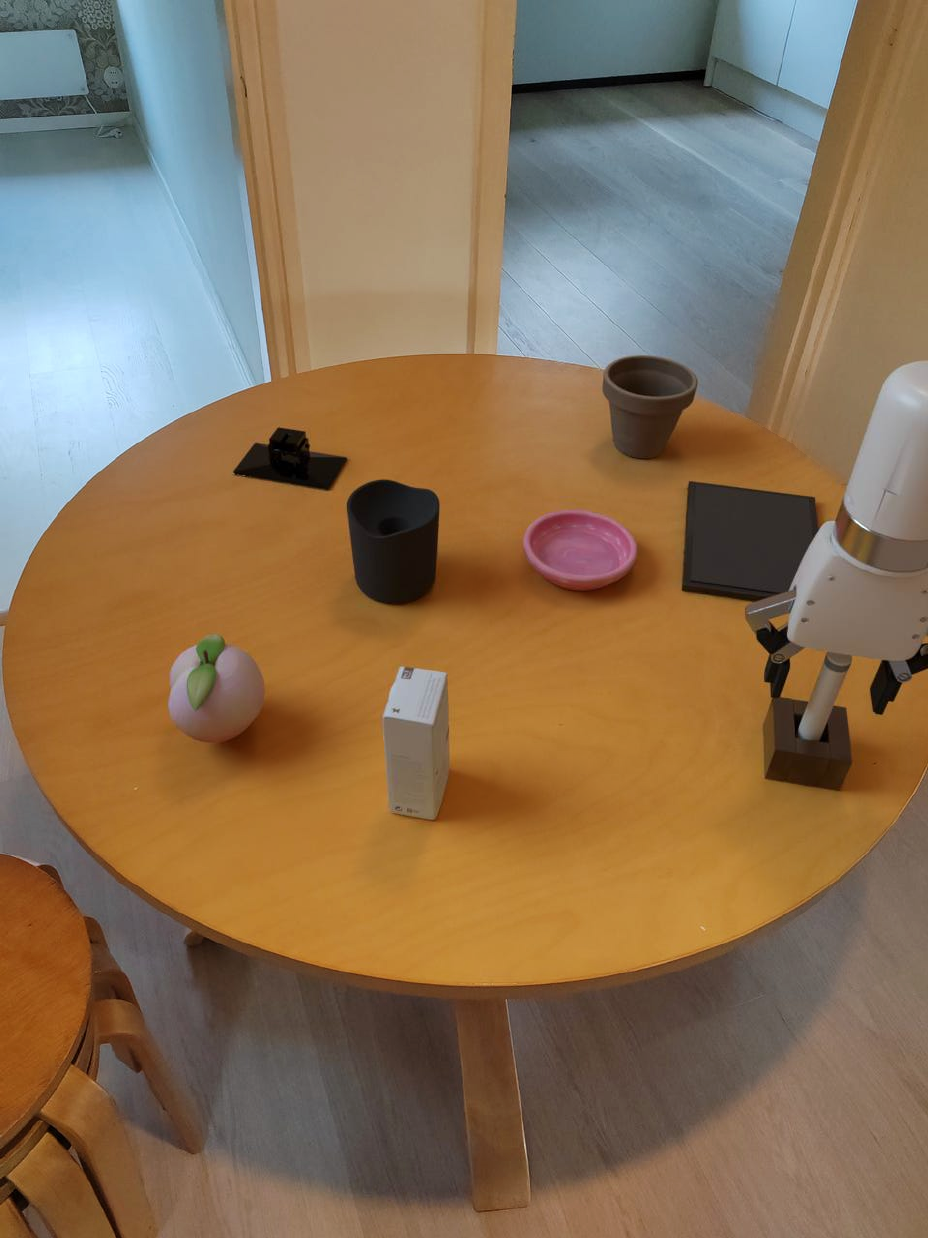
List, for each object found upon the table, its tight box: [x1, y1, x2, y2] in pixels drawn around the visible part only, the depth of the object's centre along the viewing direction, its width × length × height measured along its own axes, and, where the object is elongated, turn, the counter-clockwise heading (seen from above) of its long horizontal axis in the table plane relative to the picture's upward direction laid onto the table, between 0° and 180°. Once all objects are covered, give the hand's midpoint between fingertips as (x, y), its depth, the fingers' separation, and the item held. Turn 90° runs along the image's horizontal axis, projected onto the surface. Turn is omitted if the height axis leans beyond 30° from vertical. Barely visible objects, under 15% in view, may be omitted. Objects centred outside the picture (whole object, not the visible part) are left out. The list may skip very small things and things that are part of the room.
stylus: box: [795, 652, 853, 741], centre depth 85 cm, size 2×2×13 cm
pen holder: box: [346, 478, 441, 605], centre depth 103 cm, size 9×9×10 cm
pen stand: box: [762, 696, 853, 792], centre depth 88 cm, size 6×6×4 cm
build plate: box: [232, 426, 348, 491], centre depth 121 cm, size 12×7×5 cm, turn 76°
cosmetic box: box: [382, 666, 451, 821], centre depth 82 cm, size 6×4×12 cm
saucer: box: [522, 509, 638, 591], centre depth 108 cm, size 12×12×3 cm
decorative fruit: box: [167, 633, 266, 744], centre depth 87 cm, size 9×8×10 cm
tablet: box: [681, 480, 819, 602], centre depth 112 cm, size 15×20×1 cm
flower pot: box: [601, 354, 699, 459], centre depth 124 cm, size 12×11×10 cm
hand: (824, 693), depth 84 cm, fingers open, 7 cm apart
